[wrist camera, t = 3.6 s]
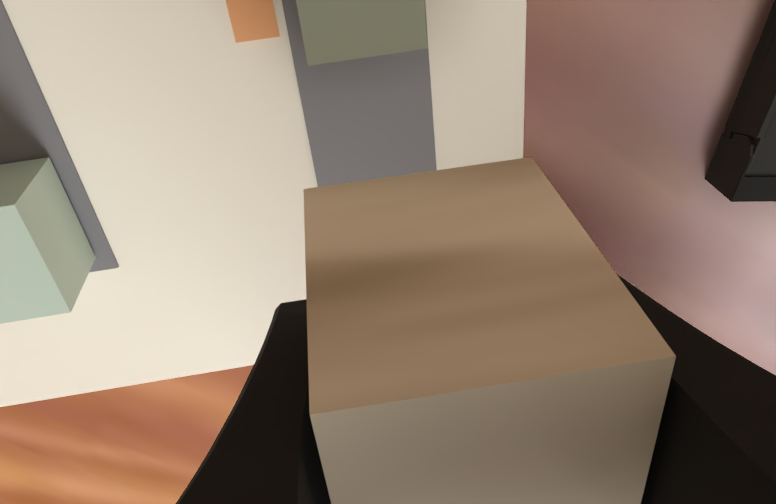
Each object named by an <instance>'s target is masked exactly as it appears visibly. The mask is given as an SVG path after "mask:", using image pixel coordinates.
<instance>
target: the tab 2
mask: <svg viewBox="0 0 776 504" xmlns="http://www.w3.org/2000/svg"><path fill="white" fill-rule="evenodd" d="M296 4H297V9H298V15H299V20H300V26H301V31H302V37H303V42H304V48H305V53H306V59H307V64H308V66H311V65H318V64H325V63H332V62H339V61H346V60H352V59H359V58H366V57H373V56H380V55H387V54H393V53H400V52H407V51H414V50H421V49H428V46H427V32H426V17H425V2H424V0H296Z"/></svg>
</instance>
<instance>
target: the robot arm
mask: <svg viewBox="0 0 776 504" xmlns="http://www.w3.org/2000/svg"><path fill="white" fill-rule="evenodd" d="M618 277H619V278H620V280H621V281H622V282H623V284H624V285H625V286H626V288H627V289H628V291H629V292H630V293H631V295H632V296H633V298H634V299H635V300H636V302H637V303H638V304H639V306H640V307H641V309H642V310H643V311H644V313H645V314H646V315H647V317H648V318H649V320H650V321H651V322H652V324H653V325H654V326H655V328H656V329H657V331H658V332H659V333H660V335H661V336H662V338H663V339H664V340H665V342H666V343H667V344H668V346H669V347H670V349H671V350H672V351H673V353H674V354H675V355H676V359H675V363H674V367H673V371H672V375H671V380H670V384H669V388H668V392H667V396H666V400H665V405H664V409H663V413H662V417H661V421H660V425H659V430H658V434H657V438H656V442H655V446H654V450H653V455H652V459H651V463H650V467H649V471H648V475H647V480H646V484H645V488H644V492H643V496H642V500H641V504H776V375H774V374H772V373H770V372H768V371H766V370H765V369H763V368H761V367H759V366H758V365H756V364H754V363H752V362H751V361H749V360H747V359H746V358H744V357H742V356H741V355H739V354H737V353H736V352H734V351H732V350H730V349H729V348H727V347H725V346H724V345H722V344H720V343H719V342H717V341H716V340H714V339H712V338H711V337H709V336H708V335H706V334H704V333H703V332H701V331H700V330H698V329H696V328H695V327H693V326H692V325H690V324H689V323H687V322H686V321H684V320H683V319H681V318H680V317H678V316H677V315H675V314H674V313H672V312H671V311H669V310H668V309H666V308H665V307H663V306H662V305H660V304H659V303H657V302H656V301H654V300H653V299H652V298H650V297H649V296H647V295H646V294H644V293H643V292H641V291H640V290H639V289H637V288H636V287H634V286H633V285H631V284H630V283H629V282H627V281H626V280H624V279H623V278H621V277H620V276H619V275H618ZM176 504H331V501H330V496H329V492H328V488H327V484H326V480H325V476H324V472H323V468H322V464H321V460H320V455H319V451H318V447H317V443H316V439H315V435H314V431H313V427H312V423H311V419H310V412H309V375H308V338H307V302H306V299H305V300H298V301H291V302H285V303H280V305H279V306H278V307H277V308H276V309H275V312H274V315H273V318H272V321H271V324H270V327H269V330H268V332H267V335H266V338H265V340H264V343H263V345H262V347H261V350H260V352H259V354H258V357H257V359H256V361H255V364H254V366H253V368H252V370H251V372H250V374H249V376H248V379H247V381H246V383H245V385H244V387H243V389H242V391H241V393H240V395H239V397H238V399H237V401H236V403H235V405H234V407H233V409H232V411H231V413H230V415H229V416H228V418H227V420H226V422H225V424H224V426H223V427H222V429H221V431H220V433H219V435H218V436H217V438H216V440H215V442H214V444H213V445H212V447H211V449H210V451H209V452H208V454H207V456H206V457H205V459H204V461H203V462H202V464H201V466H200V467H199V469H198V470H197V472H196V474H195V475H194V477H193V478H192V480H191V481H190V483H189V485H188V486H187V488H186V489H185V491H184V492H183V494H182V495H181V497H180V498H179V500H178V501H177V503H176Z"/></svg>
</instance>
